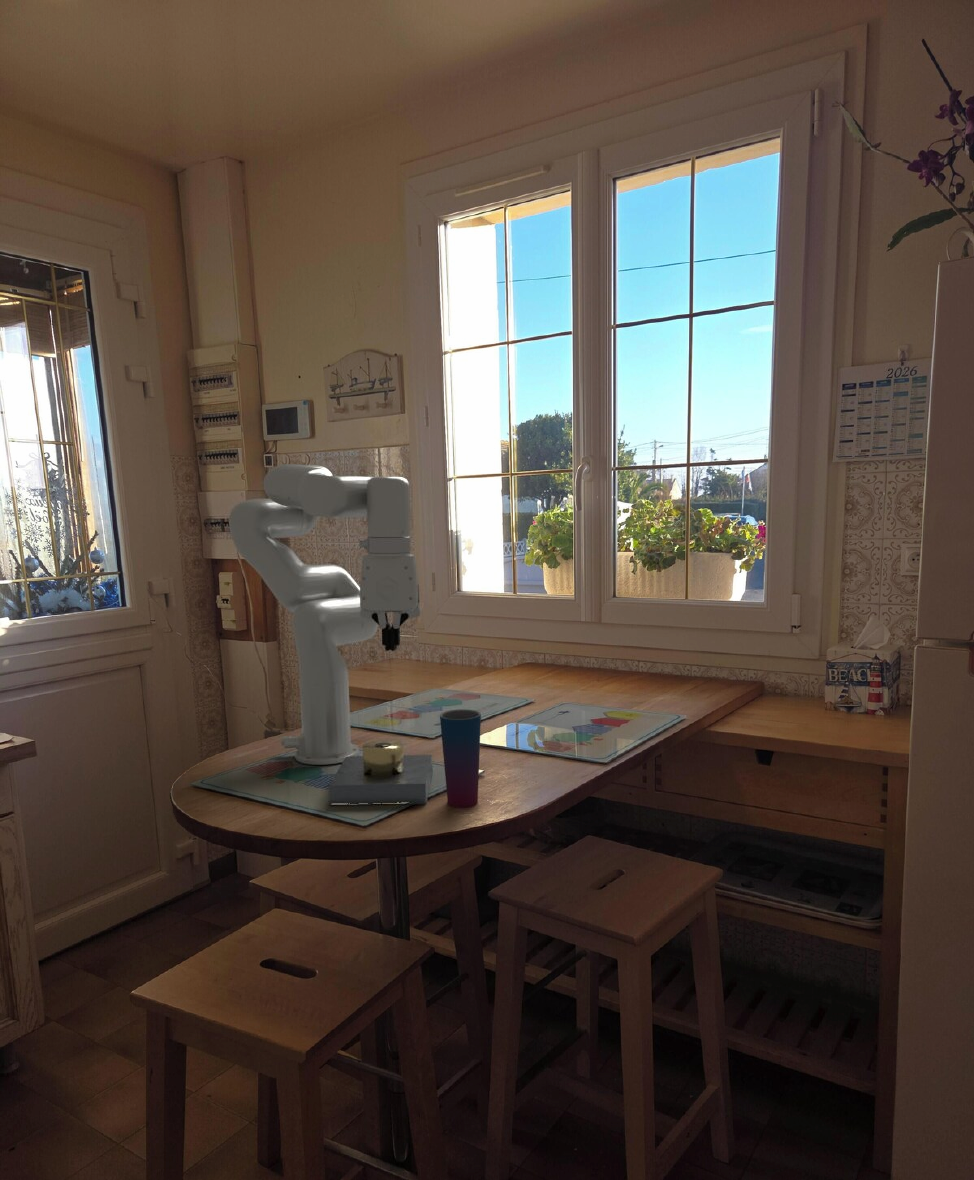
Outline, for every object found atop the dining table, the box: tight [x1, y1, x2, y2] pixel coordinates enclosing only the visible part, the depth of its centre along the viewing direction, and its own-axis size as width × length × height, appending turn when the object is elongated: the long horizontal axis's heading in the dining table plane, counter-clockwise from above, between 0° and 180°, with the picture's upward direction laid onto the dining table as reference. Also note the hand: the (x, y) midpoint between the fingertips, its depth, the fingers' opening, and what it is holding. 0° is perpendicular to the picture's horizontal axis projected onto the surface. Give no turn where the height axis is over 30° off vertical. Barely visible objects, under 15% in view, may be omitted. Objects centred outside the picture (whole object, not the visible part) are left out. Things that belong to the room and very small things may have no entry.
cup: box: [439, 708, 482, 809], centre depth 134 cm, size 7×7×15 cm
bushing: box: [362, 739, 404, 776], centre depth 142 cm, size 7×7×8 cm
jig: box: [328, 754, 434, 805], centre depth 143 cm, size 16×16×4 cm
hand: (391, 649), depth 145 cm, fingers closed
